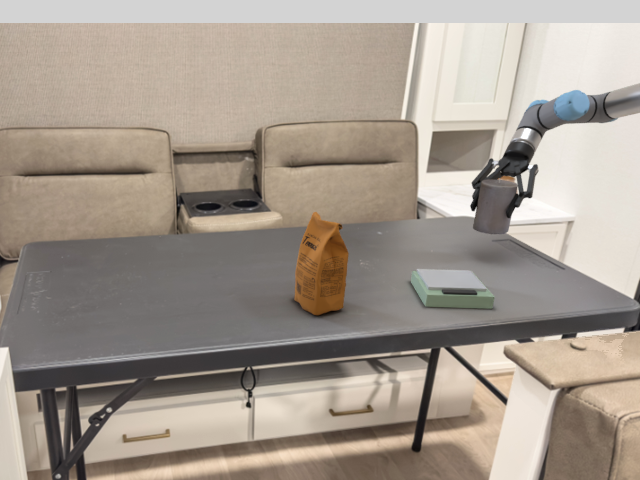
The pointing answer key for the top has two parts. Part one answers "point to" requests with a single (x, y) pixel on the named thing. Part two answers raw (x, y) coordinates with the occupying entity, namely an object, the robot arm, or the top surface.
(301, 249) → the coffee package
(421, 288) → the scale
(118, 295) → the top surface
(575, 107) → the robot arm
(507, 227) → the pillar candle
